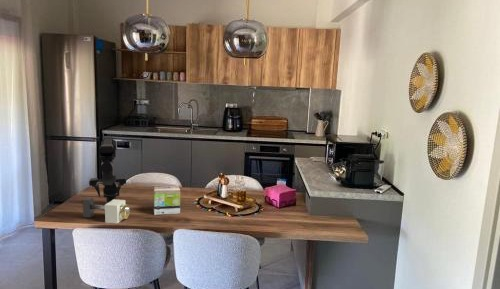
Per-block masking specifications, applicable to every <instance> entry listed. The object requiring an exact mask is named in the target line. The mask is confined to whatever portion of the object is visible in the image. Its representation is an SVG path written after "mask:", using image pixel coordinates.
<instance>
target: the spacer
mask: <svg viewBox="0 0 500 289" xmlns="http://www.w3.org/2000/svg"><path fill="white" fill-rule="evenodd" d="M126 207H130V205H129V204H127V203H125V205H124V206H123V208H122V217H123V218H124V219H123V220H126V219H128V218H129V216H130V212H131V210H130V211H129V212H126V215H125V209H126ZM130 208H131V207H130Z"/></svg>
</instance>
